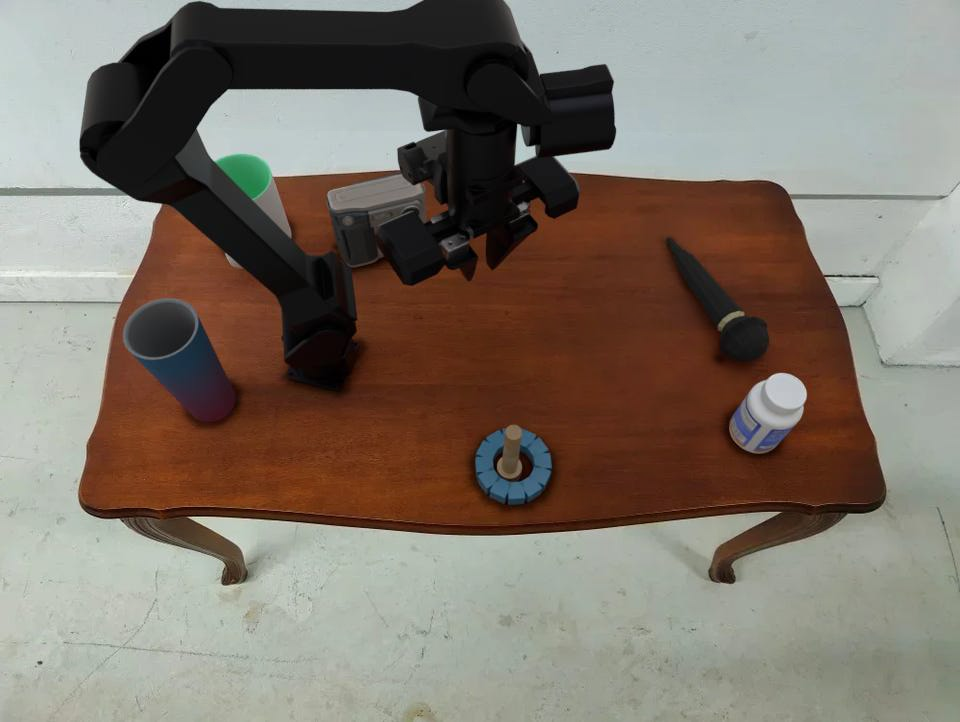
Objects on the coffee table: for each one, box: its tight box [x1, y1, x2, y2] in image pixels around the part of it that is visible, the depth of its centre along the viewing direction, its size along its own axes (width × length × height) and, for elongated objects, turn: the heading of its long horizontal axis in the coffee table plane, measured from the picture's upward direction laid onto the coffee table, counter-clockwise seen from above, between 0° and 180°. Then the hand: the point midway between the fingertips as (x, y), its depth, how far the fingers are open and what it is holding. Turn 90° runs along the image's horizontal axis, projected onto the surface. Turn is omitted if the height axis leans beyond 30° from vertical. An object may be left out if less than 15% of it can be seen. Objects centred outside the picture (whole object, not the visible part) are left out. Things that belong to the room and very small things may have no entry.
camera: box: [325, 173, 428, 269], centre depth 85 cm, size 11×6×10 cm, turn 106°
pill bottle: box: [728, 372, 808, 455], centre depth 73 cm, size 5×5×10 cm
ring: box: [474, 427, 553, 506], centre depth 74 cm, size 8×8×2 cm
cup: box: [122, 297, 237, 423], centre depth 71 cm, size 7×7×15 cm
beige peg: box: [496, 424, 523, 482], centre depth 70 cm, size 3×3×10 cm
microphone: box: [665, 237, 770, 363], centre depth 84 cm, size 6×6×20 cm
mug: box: [213, 153, 292, 269], centre depth 84 cm, size 12×8×10 cm
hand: (478, 272), depth 72 cm, fingers closed
